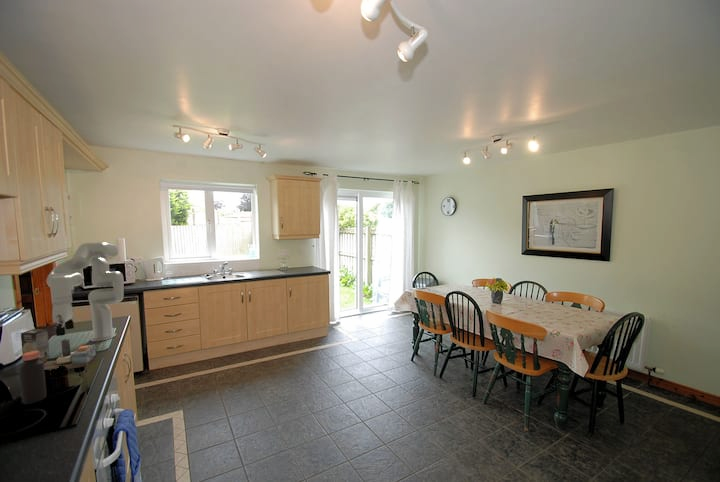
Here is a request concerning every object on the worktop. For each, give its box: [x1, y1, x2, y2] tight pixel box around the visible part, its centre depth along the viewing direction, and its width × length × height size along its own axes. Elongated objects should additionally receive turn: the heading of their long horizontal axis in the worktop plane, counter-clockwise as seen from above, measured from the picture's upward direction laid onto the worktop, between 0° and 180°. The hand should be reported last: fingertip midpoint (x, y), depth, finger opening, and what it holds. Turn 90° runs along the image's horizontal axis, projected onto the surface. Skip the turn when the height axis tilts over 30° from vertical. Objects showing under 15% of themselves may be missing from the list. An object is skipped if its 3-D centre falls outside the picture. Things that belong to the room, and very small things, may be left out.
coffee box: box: [20, 328, 51, 360], centre depth 165 cm, size 9×6×16 cm
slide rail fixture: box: [39, 343, 97, 370], centre depth 157 cm, size 12×22×7 cm, turn 114°
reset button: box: [77, 344, 90, 351], centre depth 160 cm, size 3×3×3 cm
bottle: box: [19, 351, 47, 405], centre depth 126 cm, size 7×7×20 cm
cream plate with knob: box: [56, 338, 75, 364], centre depth 158 cm, size 8×5×10 cm, turn 24°
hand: (65, 331), depth 158 cm, fingers open, 9 cm apart
